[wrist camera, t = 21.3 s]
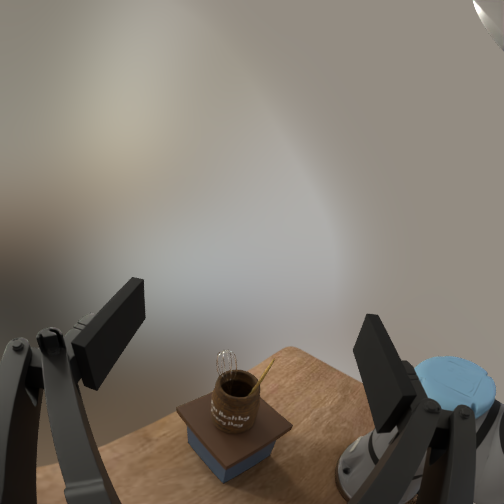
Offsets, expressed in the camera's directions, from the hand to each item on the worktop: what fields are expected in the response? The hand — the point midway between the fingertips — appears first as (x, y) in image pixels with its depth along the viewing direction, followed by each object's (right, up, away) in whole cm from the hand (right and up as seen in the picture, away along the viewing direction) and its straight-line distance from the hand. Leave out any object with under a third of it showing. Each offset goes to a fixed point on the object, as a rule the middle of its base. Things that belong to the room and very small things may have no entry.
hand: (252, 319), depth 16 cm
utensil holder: (-2, -18, +17) cm, 25 cm away
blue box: (-4, -26, +20) cm, 33 cm away
